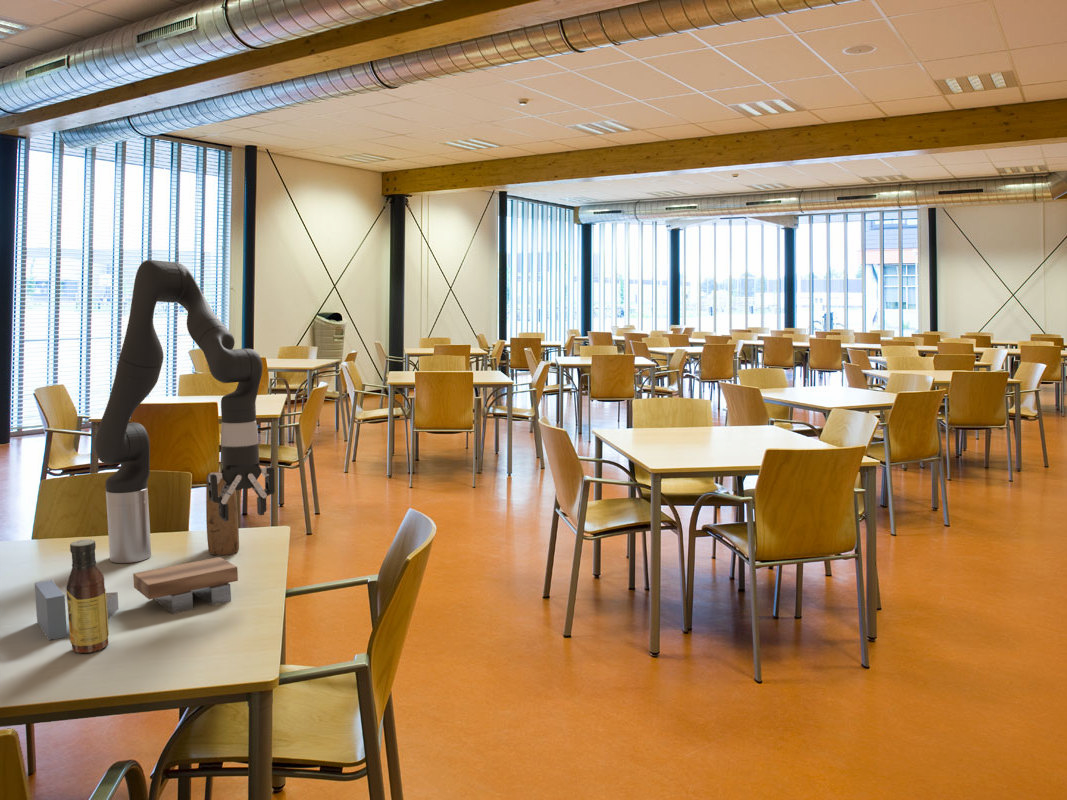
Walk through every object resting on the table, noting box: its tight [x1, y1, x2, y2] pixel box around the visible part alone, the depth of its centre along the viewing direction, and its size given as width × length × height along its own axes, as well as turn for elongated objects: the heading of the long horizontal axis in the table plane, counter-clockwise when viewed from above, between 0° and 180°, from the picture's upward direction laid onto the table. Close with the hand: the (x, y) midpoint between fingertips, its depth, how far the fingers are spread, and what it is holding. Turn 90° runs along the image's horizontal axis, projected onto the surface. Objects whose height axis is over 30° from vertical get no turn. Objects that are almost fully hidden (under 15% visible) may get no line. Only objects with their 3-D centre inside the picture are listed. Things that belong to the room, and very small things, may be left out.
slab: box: [132, 556, 239, 600], centre depth 184 cm, size 10×18×3 cm, turn 130°
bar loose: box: [106, 591, 120, 620], centre depth 173 cm, size 12×4×4 cm, turn 7°
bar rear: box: [191, 583, 232, 606], centre depth 187 cm, size 12×4×4 cm, turn 41°
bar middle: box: [153, 591, 194, 615], centre depth 182 cm, size 12×4×4 cm, turn 41°
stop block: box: [34, 579, 68, 641], centre depth 168 cm, size 12×3×8 cm, turn 39°
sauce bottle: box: [65, 538, 110, 654], centre depth 158 cm, size 7×6×20 cm
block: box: [205, 470, 240, 556], centre depth 221 cm, size 11×8×20 cm
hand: (243, 517), depth 190 cm, fingers open, 7 cm apart
